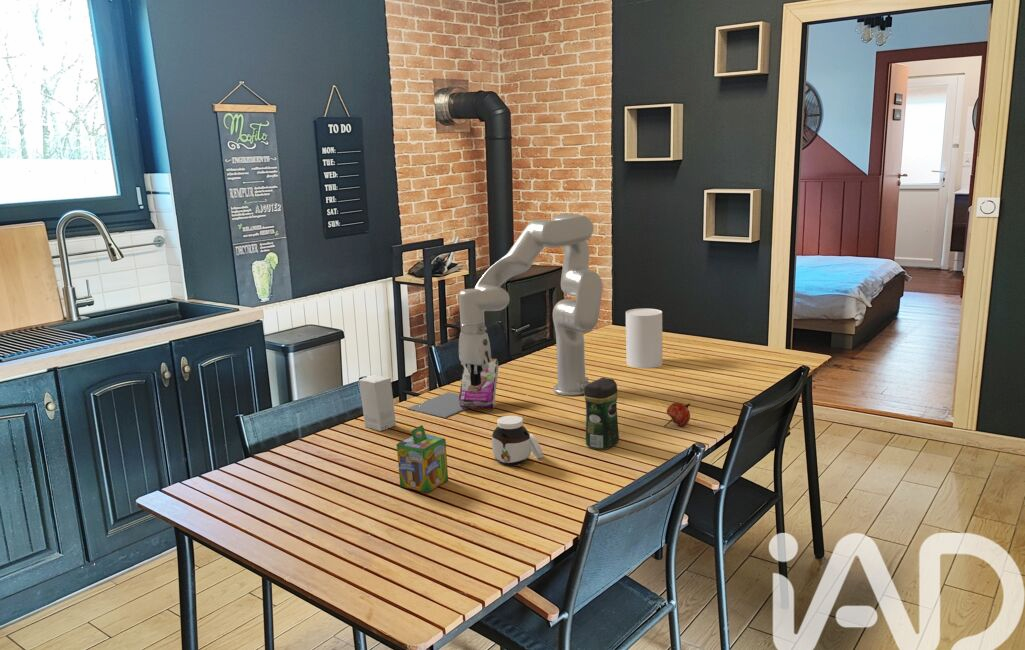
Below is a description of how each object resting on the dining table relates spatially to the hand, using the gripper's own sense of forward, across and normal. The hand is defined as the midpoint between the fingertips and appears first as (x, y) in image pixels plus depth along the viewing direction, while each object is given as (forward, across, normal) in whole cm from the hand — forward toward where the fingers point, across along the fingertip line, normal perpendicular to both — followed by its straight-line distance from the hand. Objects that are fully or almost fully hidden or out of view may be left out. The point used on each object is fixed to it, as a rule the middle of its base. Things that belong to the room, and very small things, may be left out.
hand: (476, 384), depth 245 cm
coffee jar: (+9, -48, +3) cm, 49 cm away
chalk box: (+10, -24, +49) cm, 55 cm away
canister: (+9, -19, -76) cm, 79 cm away
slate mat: (+9, +14, 0) cm, 16 cm away
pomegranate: (+9, -60, -20) cm, 64 cm away
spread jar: (+10, -35, +24) cm, 44 cm away
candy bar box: (+7, +1, -1) cm, 7 cm away
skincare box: (+10, +18, +26) cm, 33 cm away
